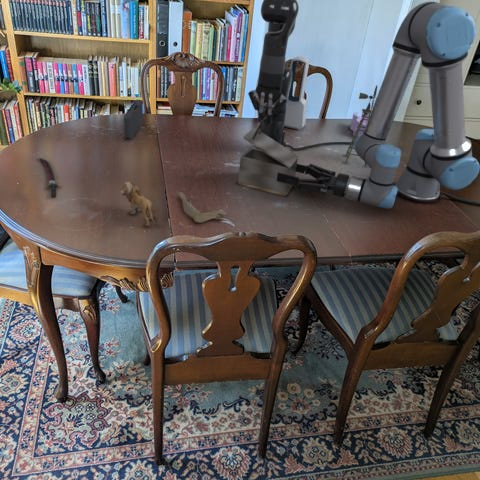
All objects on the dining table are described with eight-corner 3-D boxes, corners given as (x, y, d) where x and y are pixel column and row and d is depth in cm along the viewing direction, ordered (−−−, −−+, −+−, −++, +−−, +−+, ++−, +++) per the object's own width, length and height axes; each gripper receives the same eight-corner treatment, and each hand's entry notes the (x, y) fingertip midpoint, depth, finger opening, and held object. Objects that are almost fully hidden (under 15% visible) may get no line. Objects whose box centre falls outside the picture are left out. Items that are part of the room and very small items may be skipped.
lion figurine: (118, 210, 138) (116, 182, 133) (132, 204, 141) (131, 177, 137) (151, 229, 130) (150, 201, 126) (165, 223, 134) (165, 195, 129)
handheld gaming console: (136, 121, 202) (136, 98, 197) (143, 121, 202) (142, 98, 197) (123, 140, 183) (122, 115, 178) (130, 141, 183) (130, 116, 178)
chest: (237, 183, 160) (240, 156, 155) (248, 173, 168) (251, 147, 163) (285, 196, 156) (289, 168, 150) (293, 184, 164) (298, 158, 158)
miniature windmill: (366, 166, 183) (386, 89, 167) (344, 163, 184) (362, 86, 168) (365, 158, 191) (384, 83, 175) (345, 154, 192) (362, 80, 176)
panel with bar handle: (242, 138, 151) (253, 117, 146) (253, 129, 159) (264, 109, 154) (289, 168, 150) (301, 148, 145) (297, 158, 158) (309, 138, 153)
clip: (343, 126, 223) (346, 112, 219) (367, 127, 225) (371, 113, 221) (360, 142, 206) (364, 127, 202) (386, 142, 209) (390, 127, 205)
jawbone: (206, 230, 134) (206, 224, 132) (158, 205, 144) (157, 199, 143) (227, 217, 139) (227, 212, 138) (179, 194, 150) (179, 188, 148)
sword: (61, 197, 141) (61, 193, 140) (50, 198, 139) (50, 194, 139) (49, 160, 164) (48, 156, 163) (39, 160, 163) (39, 157, 162)
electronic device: (304, 126, 217) (316, 59, 201) (301, 131, 211) (313, 62, 195) (279, 121, 220) (288, 54, 204) (275, 125, 214) (284, 57, 198)
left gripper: (246, 67, 141) (241, 123, 150) (289, 76, 137) (281, 132, 147) (255, 63, 147) (249, 117, 156) (296, 71, 143) (287, 125, 153)
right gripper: (337, 211, 144) (270, 194, 150) (350, 184, 162) (290, 169, 168) (343, 190, 140) (273, 172, 146) (355, 164, 158) (293, 149, 164)
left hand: (264, 124), depth 152 cm, fingers closed
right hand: (282, 170), depth 157 cm, fingers closed on chest, 10 cm apart
